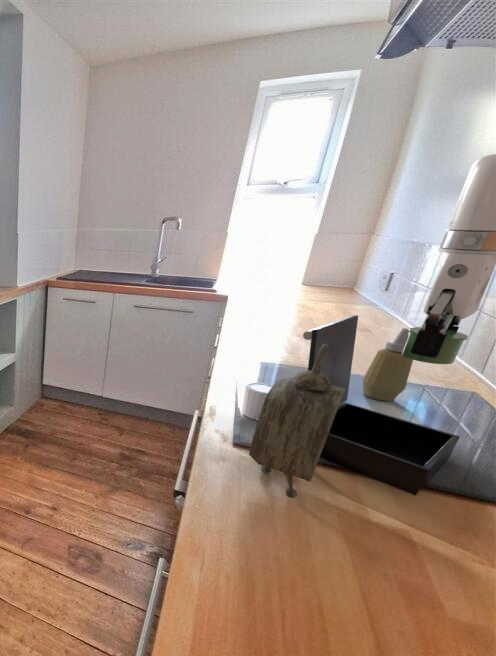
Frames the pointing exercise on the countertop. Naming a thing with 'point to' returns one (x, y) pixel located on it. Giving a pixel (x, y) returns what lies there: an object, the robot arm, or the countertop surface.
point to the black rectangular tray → (387, 447)
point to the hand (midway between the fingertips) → (430, 350)
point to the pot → (446, 351)
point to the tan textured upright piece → (296, 423)
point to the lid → (334, 350)
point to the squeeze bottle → (388, 370)
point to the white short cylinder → (254, 399)
